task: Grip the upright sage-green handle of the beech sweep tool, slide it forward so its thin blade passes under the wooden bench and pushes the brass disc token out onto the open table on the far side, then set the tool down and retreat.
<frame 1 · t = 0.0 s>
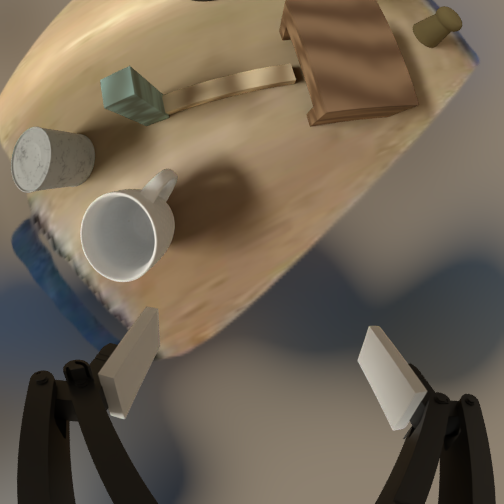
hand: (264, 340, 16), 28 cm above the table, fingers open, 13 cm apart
speckled white cylinder: (74, 160, 39), on the table
cork: (424, 35, 32), on the table
sweep tool: (155, 110, 38), on the table
wooden bench: (335, 70, 36), on the table
mug: (155, 215, 42), on the table
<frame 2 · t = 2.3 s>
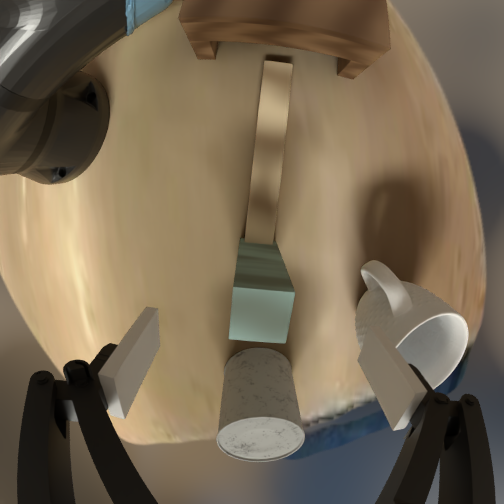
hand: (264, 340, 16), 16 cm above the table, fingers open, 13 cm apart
speckled white cylinder: (258, 373, 37), on the table
sweep tool: (256, 256, 32), on the table
wooden bench: (282, 19, 24), on the table
mug: (376, 298, 34), on the table
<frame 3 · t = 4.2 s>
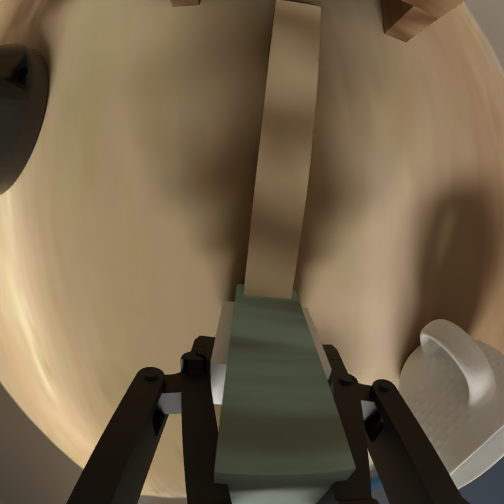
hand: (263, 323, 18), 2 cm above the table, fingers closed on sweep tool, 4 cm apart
sweep tool: (262, 311, 20), on the table, touching gripper
mug: (425, 354, 21), on the table
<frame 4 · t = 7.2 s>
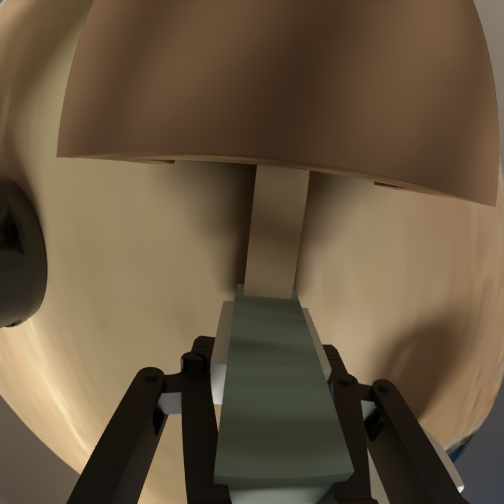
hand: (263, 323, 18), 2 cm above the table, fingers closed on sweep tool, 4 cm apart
sweep tool: (262, 311, 20), point 1 cm above the table, touching gripper, token
wooden bench: (286, 74, 16), on the table
mug: (382, 431, 25), on the table
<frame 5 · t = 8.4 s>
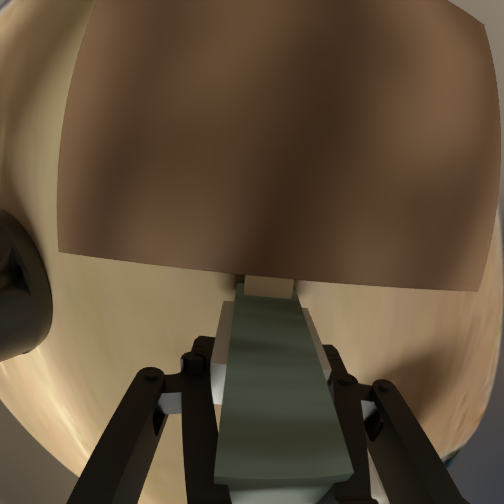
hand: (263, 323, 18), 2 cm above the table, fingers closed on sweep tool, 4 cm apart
sweep tool: (262, 311, 20), point 1 cm above the table, touching gripper
wooden bench: (284, 124, 17), on the table
mug: (368, 449, 26), on the table
when the fingers open (2 cm above the table, at t = 9.2 s): sweep tool stays where it is, on the table.
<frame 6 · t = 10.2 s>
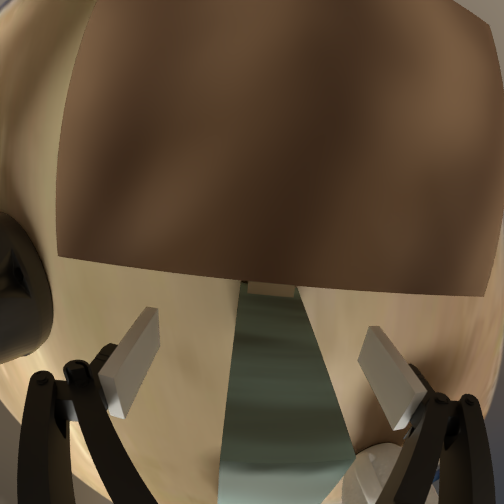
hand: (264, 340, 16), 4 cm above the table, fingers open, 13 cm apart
sweep tool: (265, 310, 20), on the table
wooden bench: (288, 126, 17), on the table
mug: (370, 452, 26), on the table
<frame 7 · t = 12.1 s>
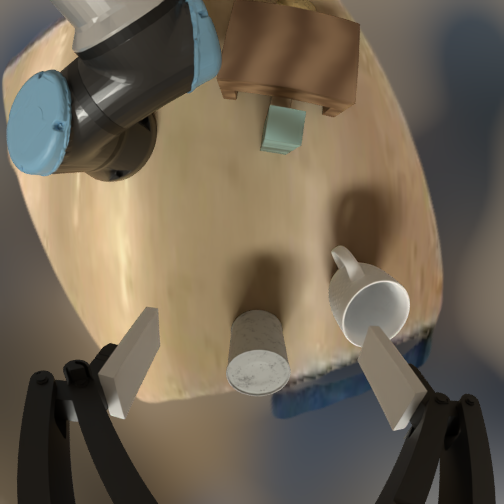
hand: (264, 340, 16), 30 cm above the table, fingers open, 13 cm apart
token: (293, 15, 35), on the table
speckled white cylinder: (256, 331, 50), on the table
sweep tool: (274, 140, 41), on the table
wooden bench: (285, 69, 38), on the table
mug: (346, 277, 48), on the table
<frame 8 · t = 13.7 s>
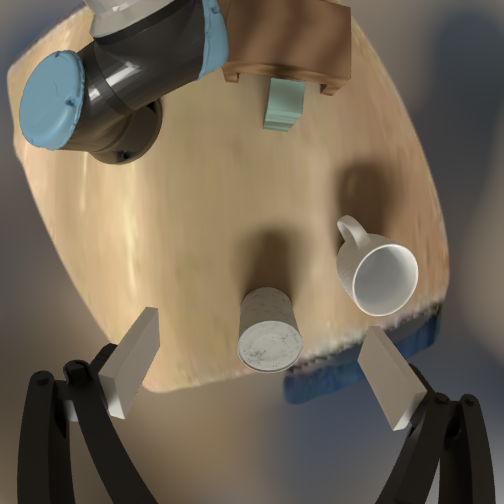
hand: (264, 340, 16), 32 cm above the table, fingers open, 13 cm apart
speckled white cylinder: (266, 310, 51), on the table
sweep tool: (276, 119, 42), on the table
wooden bench: (283, 53, 38), on the table
mug: (353, 250, 48), on the table
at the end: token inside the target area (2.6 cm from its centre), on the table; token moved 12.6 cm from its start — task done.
